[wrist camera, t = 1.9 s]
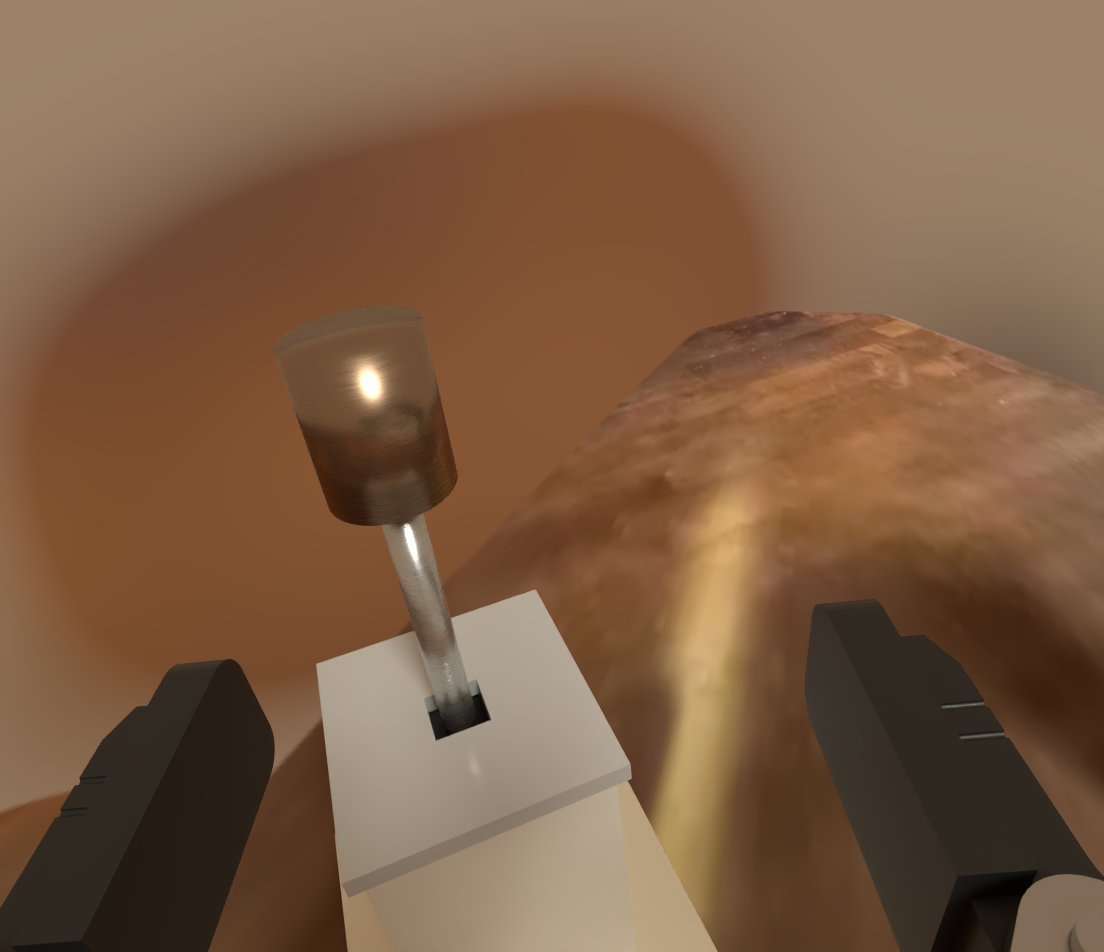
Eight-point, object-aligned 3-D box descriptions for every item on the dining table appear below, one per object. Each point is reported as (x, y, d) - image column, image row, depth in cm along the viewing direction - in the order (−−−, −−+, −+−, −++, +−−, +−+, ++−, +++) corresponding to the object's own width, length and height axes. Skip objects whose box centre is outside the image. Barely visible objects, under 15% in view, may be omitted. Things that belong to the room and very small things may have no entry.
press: (601, 739, 54) (575, 529, 43) (751, 1027, 38) (770, 808, 27) (339, 844, 50) (236, 638, 39) (384, 1224, 33) (228, 1055, 23)
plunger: (530, 684, 40) (449, 270, 28) (590, 818, 33) (519, 344, 20) (376, 741, 38) (212, 323, 26) (406, 896, 31) (199, 425, 18)
